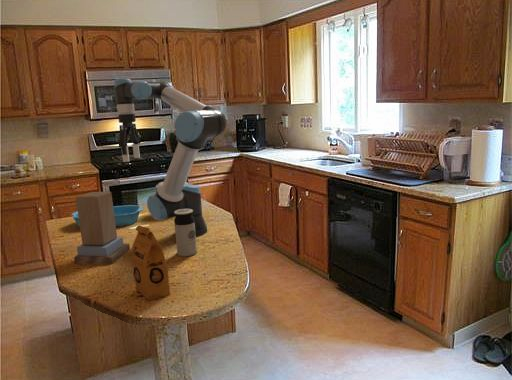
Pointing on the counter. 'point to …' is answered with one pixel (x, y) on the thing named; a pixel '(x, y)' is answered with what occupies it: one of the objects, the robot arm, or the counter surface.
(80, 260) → the walnut slab
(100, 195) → the wooden block
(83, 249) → the slate slab
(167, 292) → the coffee package
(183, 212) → the travel mug
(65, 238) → the counter surface
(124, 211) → the casserole dish
